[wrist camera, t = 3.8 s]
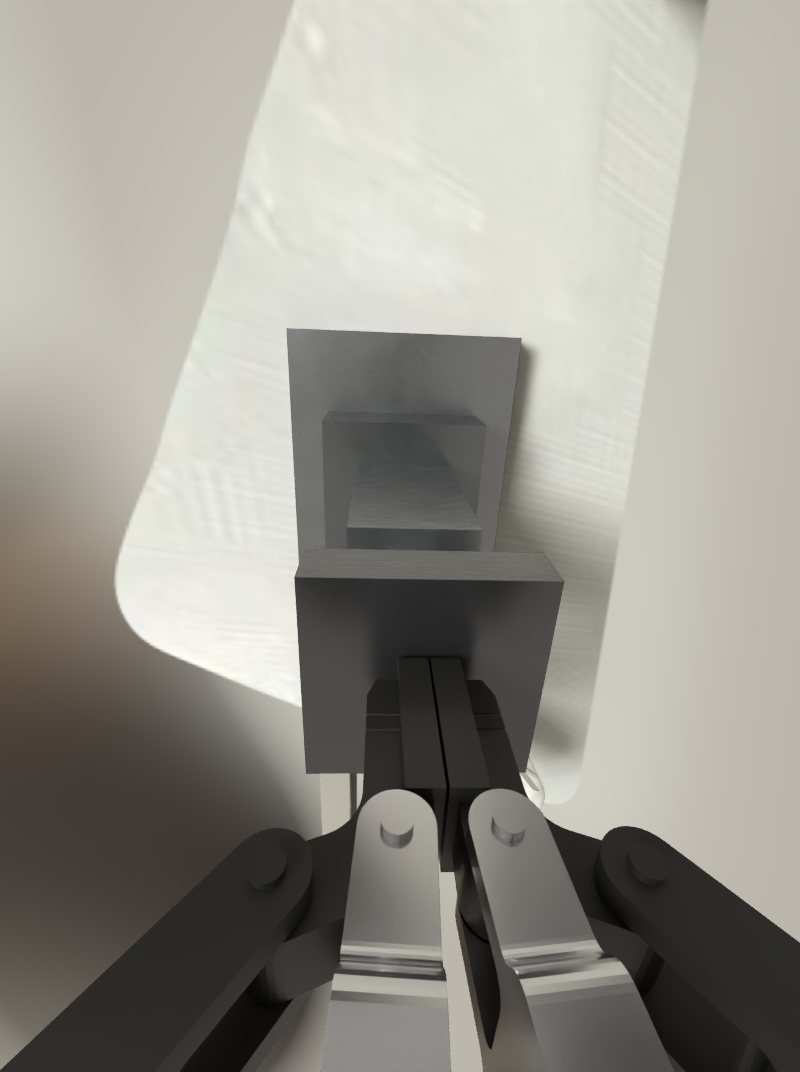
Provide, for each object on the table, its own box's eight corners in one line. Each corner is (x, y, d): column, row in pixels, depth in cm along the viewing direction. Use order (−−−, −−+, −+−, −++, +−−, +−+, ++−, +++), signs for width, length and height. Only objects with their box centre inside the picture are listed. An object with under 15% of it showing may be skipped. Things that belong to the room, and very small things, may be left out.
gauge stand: (291, 328, 25) (162, 322, 10) (514, 337, 25) (693, 344, 11) (306, 627, 32) (244, 870, 18) (477, 629, 33) (554, 866, 18)
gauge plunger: (338, 453, 21) (294, 577, 10) (472, 457, 21) (564, 581, 10) (341, 647, 25) (312, 878, 14) (453, 648, 25) (505, 875, 15)
